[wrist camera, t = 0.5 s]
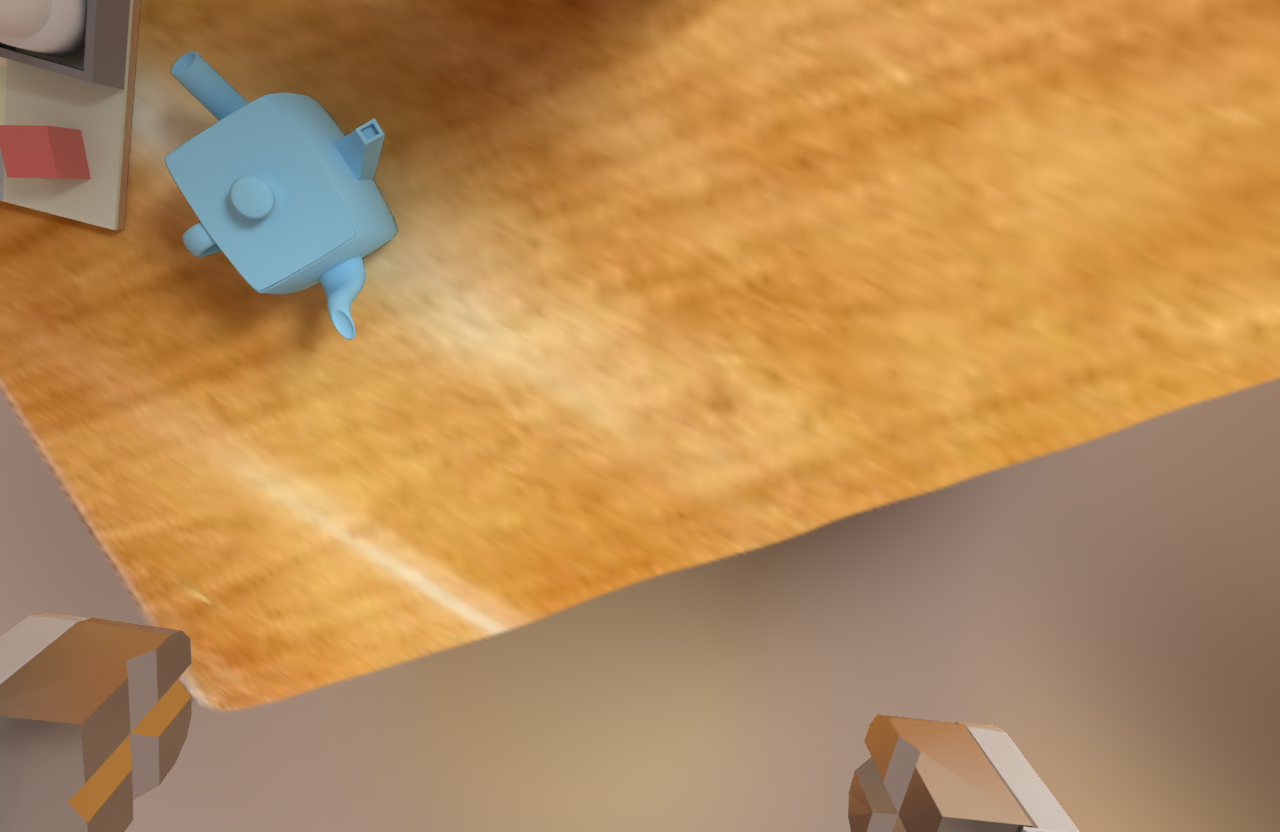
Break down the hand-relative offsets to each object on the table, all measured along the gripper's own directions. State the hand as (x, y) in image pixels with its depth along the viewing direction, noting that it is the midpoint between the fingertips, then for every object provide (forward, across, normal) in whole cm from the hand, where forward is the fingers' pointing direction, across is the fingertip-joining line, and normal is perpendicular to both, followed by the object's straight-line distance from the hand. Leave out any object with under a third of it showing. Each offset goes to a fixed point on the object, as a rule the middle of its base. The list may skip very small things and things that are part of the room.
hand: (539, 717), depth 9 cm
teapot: (+45, +19, -3) cm, 49 cm away
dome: (+43, +35, -11) cm, 56 cm away
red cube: (+44, +35, -2) cm, 57 cm away
